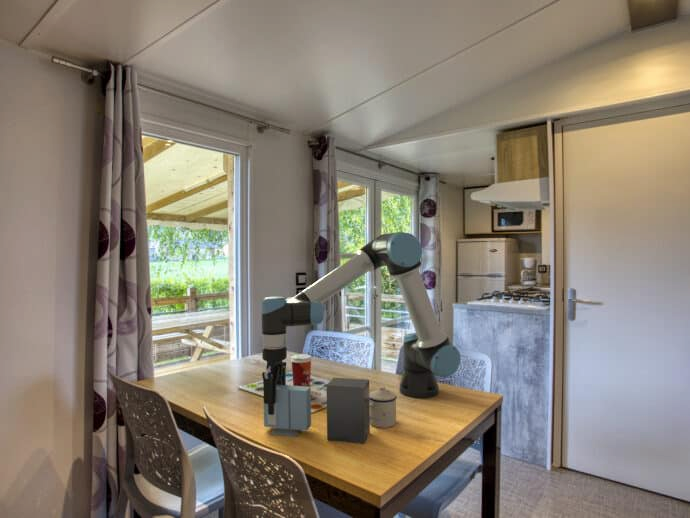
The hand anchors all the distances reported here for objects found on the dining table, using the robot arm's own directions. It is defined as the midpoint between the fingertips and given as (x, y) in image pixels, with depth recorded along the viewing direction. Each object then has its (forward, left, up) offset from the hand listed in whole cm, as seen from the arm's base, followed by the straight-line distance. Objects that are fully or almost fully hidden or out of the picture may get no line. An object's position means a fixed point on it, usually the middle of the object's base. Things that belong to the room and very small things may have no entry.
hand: (275, 420), depth 131 cm
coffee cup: (+3, -32, -3) cm, 32 cm away
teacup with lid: (-31, -11, -3) cm, 33 cm away
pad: (-4, 0, -3) cm, 5 cm away
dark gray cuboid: (-23, 0, -3) cm, 23 cm away
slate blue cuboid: (-4, 0, -1) cm, 4 cm away
